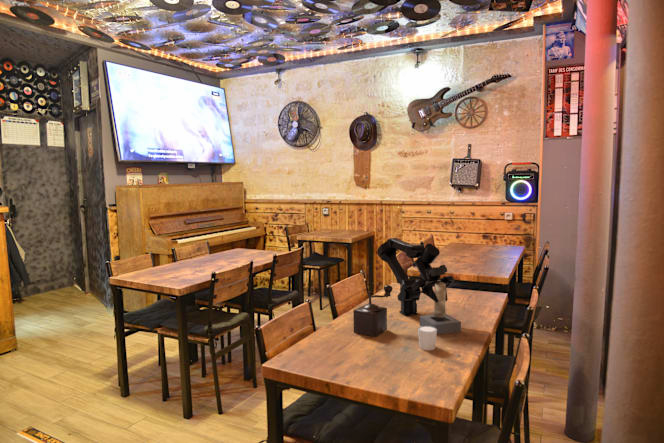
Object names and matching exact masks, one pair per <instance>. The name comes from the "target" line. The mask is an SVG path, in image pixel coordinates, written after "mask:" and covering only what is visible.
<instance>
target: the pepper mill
mask: <svg viewBox="0 0 664 443" xmlns="http://www.w3.org/2000/svg"><path fill="white" fill-rule="evenodd" d="M383 290H384V294H383V295H377V294H376V295H375V294H374V295H372V291H370V290H369V291H368V295H367V296H368V303H366V304H364V305H362V306H359V307H358V308H355V309H353V333H356V334H359V335H364V336H367V337H372V338H377V337H378V336H380V335H382V334H383V333H384V332H386V331H387V330H388V309H387V307H385V306H379V305H377V304H375V303H372V298H388V297H391V296H392V295H391V292H393V291H394V290H393V286H392V285H390V284H386V285H384V286H383Z"/></svg>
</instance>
